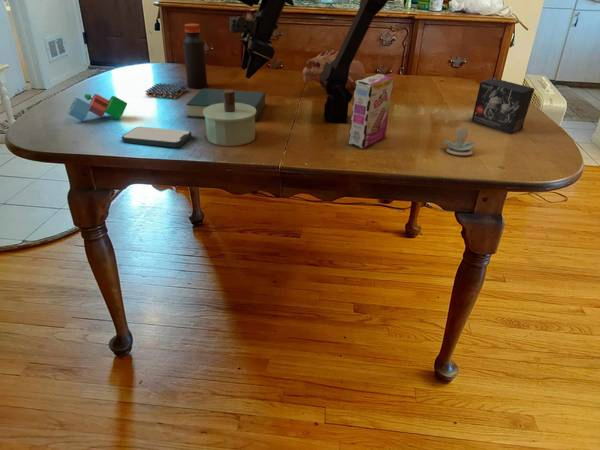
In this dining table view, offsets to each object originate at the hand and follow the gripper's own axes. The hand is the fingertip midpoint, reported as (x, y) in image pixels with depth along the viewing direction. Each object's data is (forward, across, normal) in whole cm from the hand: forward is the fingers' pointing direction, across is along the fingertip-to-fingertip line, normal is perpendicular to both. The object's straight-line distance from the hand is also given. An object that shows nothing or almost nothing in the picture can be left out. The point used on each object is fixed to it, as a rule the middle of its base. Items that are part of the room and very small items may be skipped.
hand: (245, 73), depth 122 cm
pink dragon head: (-1, -27, +37) cm, 46 cm away
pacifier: (-8, +29, +52) cm, 60 cm away
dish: (+15, +9, +1) cm, 18 cm away
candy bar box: (+1, +18, +33) cm, 38 cm away
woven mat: (+22, -32, -15) cm, 42 cm away
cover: (+9, +9, -2) cm, 13 cm away
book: (+14, -12, +2) cm, 19 cm away
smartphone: (+23, +9, -16) cm, 29 cm away
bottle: (+18, -40, -5) cm, 44 cm away
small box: (-16, +12, +72) cm, 75 cm away
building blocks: (+29, -9, -31) cm, 44 cm away
